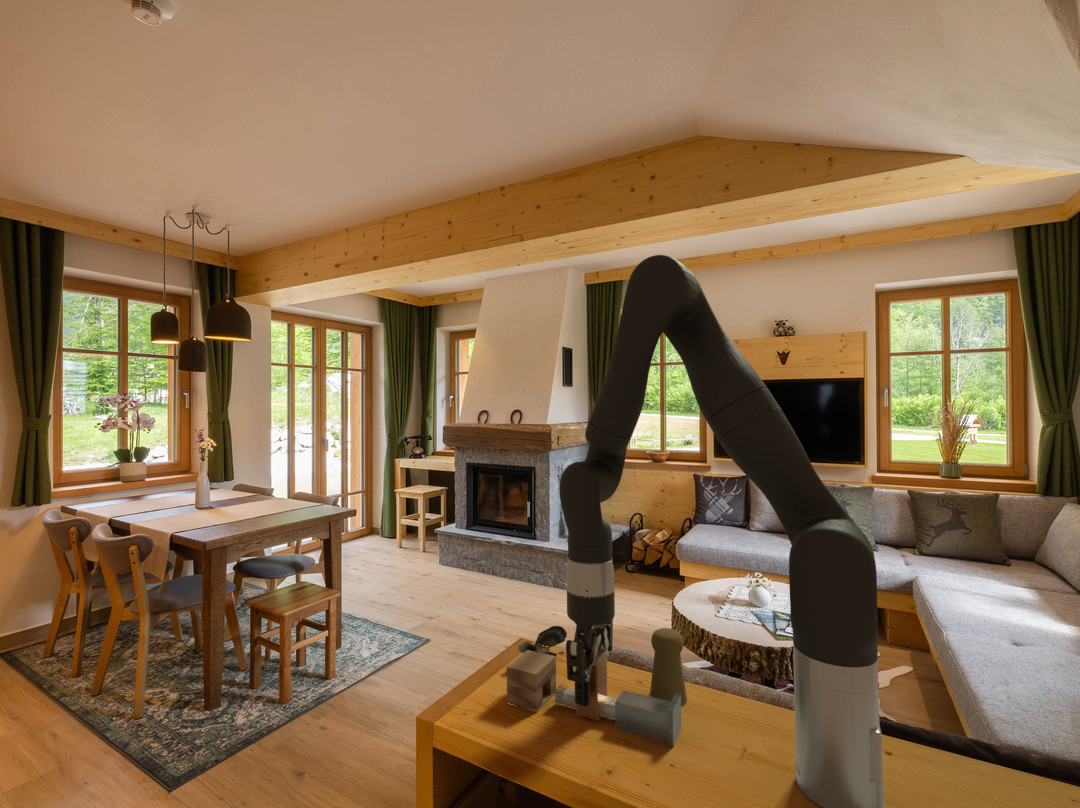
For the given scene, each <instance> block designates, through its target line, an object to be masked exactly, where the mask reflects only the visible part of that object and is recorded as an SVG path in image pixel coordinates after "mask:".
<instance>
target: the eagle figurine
mask: <svg viewBox="0 0 1080 808" xmlns="http://www.w3.org/2000/svg"><path fill="white" fill-rule="evenodd" d="M567 635H568V633H567V630H566V629H565V628H564V627H563V626H560V625H552V626H550V627H549V628H547V629H545V630H543V631H541V632H539V633H538V635H537V638H536V640H535V643H531V642H530V641H528V640H527V641H524V642H521V643H520V644H518V650H519V652H520V653H522V654H523V653H524V652H526V651H527V650H530V651H535V652H539V653H544V654H548V655H549V654H551V655H553V654H554V655H558V653H557V652H554V651H551V650H550V649H551V648H553V647H556V646H557V645H560V644H563V643H564V642H565V641H566V638H567V637H568V636H567ZM539 644H540V645H539ZM542 645H544V646H542ZM545 646H548V647H545ZM550 647H551V648H550Z"/></svg>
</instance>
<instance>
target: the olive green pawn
mask: <svg viewBox="0 0 1080 808" xmlns="http://www.w3.org/2000/svg"><path fill="white" fill-rule="evenodd" d="M650 641H651V646H652V649H653V651H654V656H653V665H652V673H651V681H650V682H651V683H650V691H649V696H650V697H654V698H658V699H662V700H667V701H672V699H673V697H674V695H675V693H677V694H681V708H682V707H684V706H685V705H686V704H687V703H688V696H687V689H686V683H685V678H684V670H683V663H682V657H681V653H682V651H683V649H684V638H683V636H682V635H681V633H680V632H679V631H677V630H675V629H673V628H666V627H664V628H658V629H656V630H655V631H654V632H653V633H652V634H651V640H650Z"/></svg>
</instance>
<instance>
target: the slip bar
mask: <svg viewBox="0 0 1080 808" xmlns="http://www.w3.org/2000/svg"><path fill="white" fill-rule="evenodd" d="M590 657H591V656H588V655H585V658H587V659H589V658H590ZM607 665H608V660H607V659H606V650H603V649H600V650H599V651H597V657H596V663H595V665H594V666H592V669H591V675H590V704H589V705H588V706H587V707H586V706H582V705H578V704H576V702H575V687H571V686H567V685H563V684H559V685H558V687H556V690H555V694H554V703H555V704H558V705H562V706H564V707H569V708H573V709H576V715H577V716H581V717H583V718H588V719H591V720H595V721H599V720H600V719H601V717H606V718H610V719H614V720H615V701H616V700H617V698H616V697H611V696H608V683H607V682H608V676H607V675H608V673H607V672H608V668H607V667H608V666H607ZM585 670H586V664H585Z"/></svg>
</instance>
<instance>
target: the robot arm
mask: <svg viewBox="0 0 1080 808" xmlns="http://www.w3.org/2000/svg"><path fill="white" fill-rule="evenodd" d="M621 309H622V310H621V315H620V319H619V323H618V327H617V331H616V336H615V341H614V345H613V347H612V348H613V350H612V353H611V355H610V360H609V362H608V363H609V364H608V367H607V370H606V373H605V376H604V379H603V382H602V385H601V388H600V391H599V393H598V396H597V399H596V401H595V403H594V407H593V410H592V413H591V414H590V417H589V420H588V422H587V425H586V428H585V433H584V437H585V440H586V442H587V443H588V444H589V446H588V451H587V454H586V457H585V460H581V461H575V462H573V463H571V464H569V465H568V466H566V467H565V469H564V470H563V472H562V474H561V476H560V480H559V487H558V489H559V500H560V505H561V509H562V514H563V517H564V518H563V519H564V523H565V525H566V528H567V567H566V615H567V617H568V619H569V620H571V621H573V622H574V623H575V625H576V627H575V632H574V636H573V640H570V639H567V640H566V643H565V653H566V654H565V656H566V657H565V658H566V659H565V660H566V677H567V678H566V679H567V680H568V681H572V682H574V688H575V702H576V704H578V705H582V706H586V707H587V706H588V705H589V704H590V675H591V669H592V666H594V665H595V663H596V657H597V651H599V650H600V649H603V650H606V659H607V661H608V659H609V656H610V654H609V652H610V653H611V652H612V651H613V643H614V642H613V635H614V634H613V632H614V631H613V629H614V628H613V627H614V618H615V614H616V613H615V610H616V608H615V606H616V605H615V604H616V603H615V601H616V600H615V569H614V564H613V563H614V562H613V534H612V533H613V532H612V531H613V530H612V527H611V525H610V523H608V521H605V520H604V519H603V514H602V508H601V503H603V502H607V501H608V500H610V499H611V498H612V496H613V495H614V494H615V493H616V492H617V489H618V488H619V485H620V482H621V479H622V476H623V471H624V466H625V462H626V456H627V449H628V445H629V443H630V442H631V438H632V436H633V434H634V432H635V429H636V427H637V424H638V421H639V419H640V416H641V413H642V410H643V407H644V403H645V398H646V394H647V386H648V382H649V381H648V380H649V373H650V367H651V363H652V360H653V356H654V353H655V350H656V347H657V345H658V342H659V340H660V338H661V336H662V334H664V336H665V338H667V340H668V342H670V344H671V345H672V347H673V348H674V349H675V351H676V352H677V354H678V356H679V357H680V360H682V363H683V366H684V367H685V371H686V374H687V377H688V379H689V382H690V386H691V389H692V393H693V395H694V398H695V401H696V403H697V405H698V408H699V409H700V412H701V413H702V416H703V418H704V419H705V421H706V423H707V424H708V426H709V428H710V430H711V431H712V432H713V434H714V435H715V437H716V439H717V441H718V443H719V444H720V446H721V447H722V448H723V450H724V451H725V452H726V454H727V455H728V456H729V457H730V459H731V460H732V461H733V462H734V464H735V465H736V466H737V467H738V469H740V471H742V472H743V474H745V476H746V477H747V478H749V480H750V481H751V482H752V483H753V484H754V485H755V487H756V488H757V489H758V490H759V491H760V492H761V493H762V494H763V496H765V498H766V499H767V501H768V503H769V504H770V505H771V507H772V509H773V510H774V512H775V514H776V516H777V518H778V520H779V522H780V524H781V525H782V528H783V530H784V531H785V534H786V535H787V537H788V540H789V543H790V545H791V547H790V551H789V555H788V583H789V584H788V585H789V587H788V588H789V606H790V608H789V609H790V624H791V628H792V643H793V645H792V647H793V648H792V650H793V687H794V688H793V690H794V691H793V695H794V696H793V697H794V700H793V701H794V728H795V729H794V733H795V734H794V738H795V739H794V740H795V742H794V743H795V761H794V762H795V776H796V777H795V778H796V783H797V786H798V788H799V790H801V792H802V793H803V794H804V795H805V796H806V797H807V798H808V799H809V800H811V801H812V802H813V803H815V804H816V805H818V806H820V807H821V808H885V802H884V801H885V799H884V798H885V797H884V795H885V794H884V764H883V759H884V758H883V735H882V730H881V725H880V698H879V697H880V696H879V695H880V694H879V663H878V662H879V659H878V658H879V657H878V652H879V651H878V645H879V644H878V642H879V625H878V623H879V622H878V620H879V619H878V581H877V579H878V578H877V576H878V575H877V564H876V560H875V558H876V557H875V553H874V549H873V545H872V544H871V541H870V540H869V538H868V536H867V535H866V534H865V532H864V531H863V530H862V529H861V528H860V527H859V526H858V524H857V523H856V522H855V521H854V520H853V519H852V517H851V516H850V515H849V514H848V513H847V511H846V510H845V509H844V508H843V506H842V505H841V504H840V503H839V501H838V500H837V499H836V498H835V496H834V495H833V494H832V493H831V491H830V490H829V488H827V486H826V485H825V484H824V482H823V481H822V480H821V478H820V476H819V474H818V472H816V470H815V468H814V466H813V465H812V462H811V461H810V459H809V457H808V454H807V453H806V450H805V449H804V447H803V445H802V443H801V441H800V439H799V437H798V435H797V434H796V432H795V430H794V427H792V425H791V423H790V422H789V420H788V418H787V417H786V415H785V412H783V411H784V410H783V409H782V407H781V406H780V405H779V403H778V401H777V400H776V399H775V397H774V395H773V394H772V393H771V391H770V390H769V388H768V387H767V385H766V383H765V382H764V381H763V380H762V379H761V377H760V375H759V374H758V372H757V371H756V370H755V369H754V367H753V366H752V364H751V363H750V362H749V361H748V360H747V358H746V357H745V356H744V354H743V353H742V352H741V350H739V348H738V347H737V346H736V345H735V343H734V342H733V341H732V340H731V339H730V338H729V336H728V335H727V333H726V332H725V330H724V329H723V327H722V326H721V323H720V321H719V320H718V319H717V317H716V314H715V313H714V310H713V309H712V307H711V305H710V303H709V300H708V299H707V297H706V294H705V293H704V290H703V288H702V286H701V284H700V282H699V280H698V278H697V277H696V275H695V274H694V273H693V272H692V271H691V270H690V269H689V268H688V267H687V266H685V265H684V264H683V263H681V262H680V261H679V260H678V259H676V258H674V257H672V256H670V255H665V254H654V255H652V256H649V257H648V256H647V258H644V259H643V260H641V261H640V263H638V264H637V265H636V267H634V269H633V271H632V272H631V275H630V277H629V280H628V282H627V286H626V290H625V294H624V298H623V303H622V308H621ZM585 655H588V656H591V657H590V658H589V659H587V658H585ZM585 664H586V670H585Z"/></svg>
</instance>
